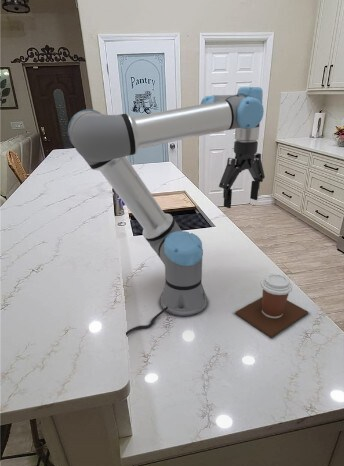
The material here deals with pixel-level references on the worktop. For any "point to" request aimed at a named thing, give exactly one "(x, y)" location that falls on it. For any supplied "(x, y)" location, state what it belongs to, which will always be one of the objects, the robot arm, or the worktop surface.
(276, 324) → the brown mat
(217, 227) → the worktop surface
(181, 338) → the worktop surface
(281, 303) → the coffee cup
